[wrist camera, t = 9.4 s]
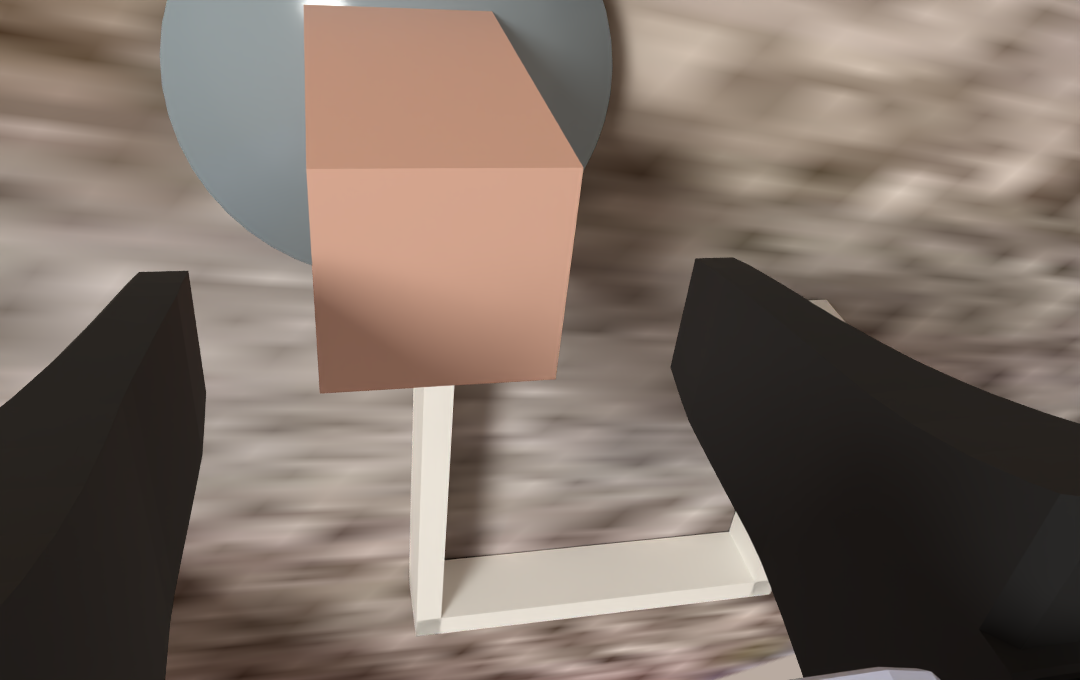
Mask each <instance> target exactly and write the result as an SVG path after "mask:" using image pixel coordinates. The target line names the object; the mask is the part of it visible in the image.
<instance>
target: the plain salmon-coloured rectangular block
mask: <svg viewBox="0 0 1080 680" xmlns="http://www.w3.org/2000/svg"><path fill="white" fill-rule="evenodd" d="M304 62H305V123H306V173H307V190H308V206H309V222H310V239H311V255H312V272H313V288H314V304H315V321H316V337H317V354H318V370H319V387H320V393H336V392H352V391H369V390H386V389H402V388H419V387H436V386H452V385H469V384H486V383H502V382H519V381H536V380H552V379H556V372H557V364H558V357H559V349H560V342H561V334H562V327H563V319H564V311H565V304H566V296H567V289H568V281H569V274H570V266H571V259H572V251H573V243H574V236H575V228H576V221H577V213H578V206H579V198H580V190H581V183H582V175H583V166H582V164H581V163H580V161H579V159H578V157H577V156H576V154H575V152H574V151H573V149H572V147H571V145H570V144H569V142H568V140H567V139H566V137H565V135H564V134H563V132H562V130H561V128H560V127H559V125H558V123H557V122H556V120H555V118H554V116H553V115H552V113H551V111H550V110H549V108H548V106H547V104H546V103H545V101H544V99H543V98H542V96H541V94H540V92H539V91H538V89H537V87H536V86H535V84H534V82H533V81H532V79H531V77H530V75H529V74H528V72H527V70H526V69H525V67H524V65H523V63H522V62H521V60H520V58H519V57H518V55H517V53H516V51H515V50H514V48H513V46H512V45H511V43H510V41H509V40H508V38H507V36H506V34H505V33H504V31H503V29H502V28H501V26H500V24H499V22H498V21H497V19H496V17H495V16H494V14H493V12H492V11H470V10H442V9H414V8H386V7H359V6H331V5H304Z"/></svg>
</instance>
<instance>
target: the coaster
mask: <svg viewBox="0 0 1080 680" xmlns="http://www.w3.org/2000/svg"><path fill="white" fill-rule="evenodd" d="M304 5H331V6H359V7H386V8H414V9H442V10H470V11H492V12H493V14H494V16H495V17H496V19H497V21H498V22H499V24H500V26H501V28H502V29H503V31H504V33H505V34H506V36H507V38H508V40H509V41H510V43H511V45H512V46H513V48H514V50H515V51H516V53H517V55H518V57H519V58H520V60H521V62H522V63H523V65H524V67H525V69H526V70H527V72H528V74H529V75H530V77H531V79H532V81H533V82H534V84H535V86H536V87H537V89H538V91H539V92H540V94H541V96H542V98H543V99H544V101H545V103H546V104H547V106H548V108H549V110H550V111H551V113H552V115H553V116H554V118H555V120H556V122H557V123H558V125H559V127H560V128H561V130H562V132H563V134H564V135H565V137H566V139H567V140H568V142H569V144H570V145H571V147H572V149H573V151H574V152H575V154H576V156H577V157H578V159H579V161H580V163H581V164H582V166H583V171H584V169H585V167H586V165H587V163H588V161H589V159H590V157H591V155H592V153H593V151H594V149H595V147H596V144H597V142H598V139H599V136H600V133H601V130H602V127H603V124H604V121H605V117H606V112H607V108H608V103H609V98H610V92H611V80H612V45H611V36H610V30H609V24H608V18H607V13H606V9H605V6H604V3H603V0H167V4H166V8H165V13H164V17H163V22H162V31H161V46H160V64H161V77H162V87H163V92H164V97H165V101H166V106H167V110H168V115H169V118H170V120H171V123H172V126H173V129H174V131H175V134H176V137H177V140H178V142H179V144H180V146H181V148H182V150H183V152H184V154H185V156H186V158H187V160H188V162H189V163H190V165H191V167H192V169H193V170H194V172H195V173H196V175H197V176H198V178H199V179H200V180H201V182H202V183H203V185H204V186H205V188H206V189H207V190H208V192H209V193H210V194H211V195H212V196H213V197H214V199H215V200H216V201H217V202H218V203H219V204H220V205H221V206H222V207H223V208H224V210H225V211H226V212H227V213H228V214H229V215H230V216H232V217H233V218H234V219H235V220H236V221H237V222H239V223H240V224H241V225H242V226H243V227H244V228H246V229H247V230H248V231H249V232H251V233H252V234H254V235H255V236H256V237H258V238H259V239H261V240H262V241H264V242H265V243H267V244H268V245H270V246H271V247H273V248H275V249H277V250H279V251H281V252H283V253H285V254H287V255H289V256H291V257H292V258H294V259H297V260H299V261H302V262H305V263H307V264H310V265H312V255H311V239H310V222H309V206H308V190H307V173H306V123H305V62H304Z"/></svg>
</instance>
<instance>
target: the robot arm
mask: <svg viewBox="0 0 1080 680" xmlns="http://www.w3.org/2000/svg"><path fill="white" fill-rule="evenodd" d="M671 370H672V373H673V376H674V379H675V382H676V386H677V389H678V392H679V395H680V398H681V401H682V403H683V406H684V409H685V412H686V414H687V417H688V420H689V422H690V424H691V426H692V428H693V430H694V432H695V434H696V436H697V438H698V440H699V442H700V444H701V446H702V448H703V450H704V452H705V454H706V456H707V458H708V460H709V461H710V463H711V465H712V467H713V469H714V471H715V473H716V475H717V477H718V478H719V480H720V482H721V484H722V486H723V488H724V490H725V492H726V494H727V495H728V497H729V499H730V501H731V503H732V505H733V507H734V509H735V511H736V512H737V514H738V516H739V518H740V520H741V522H742V524H743V526H744V528H745V529H746V531H747V533H748V535H749V537H750V540H751V542H752V544H753V546H754V548H755V550H756V552H757V554H758V557H759V559H760V561H761V564H762V566H763V569H764V571H765V574H766V576H767V579H768V582H769V584H770V587H771V589H772V592H773V594H774V597H775V600H776V602H777V605H778V607H779V610H780V612H781V615H782V618H783V621H784V624H785V626H786V629H787V632H788V635H789V638H790V641H791V643H792V646H793V649H794V652H795V655H796V657H797V660H798V663H799V666H800V669H801V672H802V675H803V678H798V679H792V680H1080V424H1079V423H1075V422H1072V421H1069V420H1066V419H1062V418H1059V417H1056V416H1053V415H1050V414H1047V413H1044V412H1041V411H1038V410H1035V409H1032V408H1029V407H1027V406H1024V405H1021V404H1018V403H1016V402H1013V401H1010V400H1007V399H1005V398H1002V397H999V396H996V395H994V394H991V393H989V392H986V391H984V390H981V389H979V388H976V387H974V386H971V385H969V384H966V383H964V382H962V381H960V380H957V379H955V378H953V377H951V376H948V375H946V374H944V373H942V372H939V371H937V370H935V369H933V368H931V367H928V366H926V365H924V364H922V363H920V362H918V361H916V360H914V359H912V358H910V357H908V356H906V355H904V354H902V353H900V352H898V351H896V350H894V349H892V348H891V347H889V346H887V345H885V344H883V343H881V342H879V341H877V340H876V339H874V338H872V337H870V336H868V335H866V334H865V333H863V332H861V331H859V330H857V329H856V328H854V327H852V326H850V325H849V324H847V323H845V322H844V321H842V320H840V319H838V318H837V317H835V316H833V315H832V314H830V313H828V312H827V311H825V310H823V309H822V308H820V307H818V306H817V305H815V304H813V303H812V302H810V301H809V300H807V299H805V298H804V297H802V296H800V295H799V294H797V293H795V292H794V291H792V290H791V289H789V288H787V287H786V286H784V285H782V284H781V283H779V282H777V281H776V280H774V279H772V278H771V277H769V276H767V275H765V274H764V273H762V272H760V271H759V270H757V269H755V268H753V267H751V266H749V265H747V264H746V263H744V262H741V261H739V260H737V259H735V258H696V259H695V263H694V267H693V272H692V276H691V280H690V285H689V289H688V293H687V298H686V302H685V307H684V311H683V315H682V320H681V324H680V328H679V333H678V337H677V341H676V346H675V350H674V354H673V359H672V363H671ZM205 402H206V389H205V382H204V375H203V368H202V362H201V355H200V348H199V341H198V334H197V328H196V321H195V314H194V307H193V300H192V293H191V287H190V280H189V273H188V271H164V272H139V273H138V274H137V275H135V276H134V277H133V278H132V279H131V280H130V281H129V282H128V283H127V285H126V286H125V287H124V288H123V289H122V290H121V291H120V292H119V293H118V294H117V295H116V296H115V297H114V298H113V300H112V301H111V302H110V303H109V304H108V305H107V306H106V307H105V308H104V309H103V310H102V312H101V313H100V314H99V315H98V316H97V317H96V318H95V319H94V320H93V321H92V322H91V323H90V324H89V325H88V326H87V328H86V329H85V330H84V331H83V332H82V333H81V334H80V335H79V336H78V337H77V338H76V339H75V340H74V341H73V342H72V343H71V344H70V345H69V346H68V347H67V348H66V349H65V350H64V351H63V352H62V353H61V354H60V355H59V356H58V357H57V358H56V359H55V360H54V361H53V362H52V363H50V364H49V365H48V366H47V367H46V368H45V369H44V370H43V371H42V372H41V373H39V374H38V375H37V376H36V377H35V378H34V379H33V380H32V381H30V382H29V383H28V384H27V385H26V386H25V387H24V388H23V389H22V390H20V391H19V392H18V393H17V394H16V395H15V396H14V397H12V398H11V399H10V400H9V401H7V402H6V403H5V404H4V405H3V406H1V407H0V680H165V675H166V663H167V652H168V640H169V629H170V620H171V614H172V607H173V600H174V594H175V589H176V584H177V579H178V574H179V569H180V564H181V559H182V554H183V549H184V544H185V539H186V535H187V530H188V525H189V520H190V515H191V510H192V505H193V500H194V495H195V490H196V485H197V480H198V475H199V470H200V464H201V459H202V452H203V437H204V421H205Z"/></svg>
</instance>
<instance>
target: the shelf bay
mask: <svg viewBox="0 0 1080 680" xmlns="http://www.w3.org/2000/svg"><path fill="white" fill-rule="evenodd" d="M809 301H810V302H812V303H813V304H815V305H817V306H818V307H820V308H822V309H823V310H825V311H827V312H828V313H830V314H832V315H833V316H835V317H837V318H838V319H840V320H842V321H844V320H843V319H842V318H841V316H840V315H839V314H838V313H837V312H836V310H835V309H834V308H833V307H832V306H831V305H830V303H829V302H828V301H827V300H809ZM844 322H845V321H844ZM845 323H846V322H845ZM453 400H454V385H452V386H436V387H419V388H413V429H412V472H411V514H410V556H409V583H410V592H411V600H412V608H413V616H414V624H415V632H416V636H424V635H432V634H441V633H449V632H458V631H466V630H474V629H483V628H491V627H499V626H508V625H516V624H525V623H533V622H541V621H550V620H558V619H566V618H575V617H583V616H592V615H600V614H608V613H617V612H625V611H633V610H642V609H650V608H659V607H667V606H675V605H684V604H692V603H701V602H709V601H717V600H726V599H734V598H742V597H751V596H759V595H768V594H770V592H771V587H770V584H769V582H768V579H767V576H766V574H765V571H764V569H763V566H762V564H761V561H760V559H759V557H758V554H757V552H756V550H755V548H754V546H753V544H752V542H751V540H750V537H749V535H748V533H747V531H746V529H745V528H744V526H743V524H742V522H741V520H740V518H739V516H738V514H737V512H735V515H734V518H733V521H732V524H731V527H730V531H729V532H721V533H711V534H701V535H691V536H681V537H671V538H661V539H651V540H641V541H631V542H621V543H611V544H601V545H591V546H581V547H572V548H562V549H552V550H542V551H532V552H522V553H512V554H502V555H492V556H482V557H472V558H462V559H452V560H444V558H445V540H446V523H447V505H448V487H449V470H450V452H451V435H452V417H453Z"/></svg>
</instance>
